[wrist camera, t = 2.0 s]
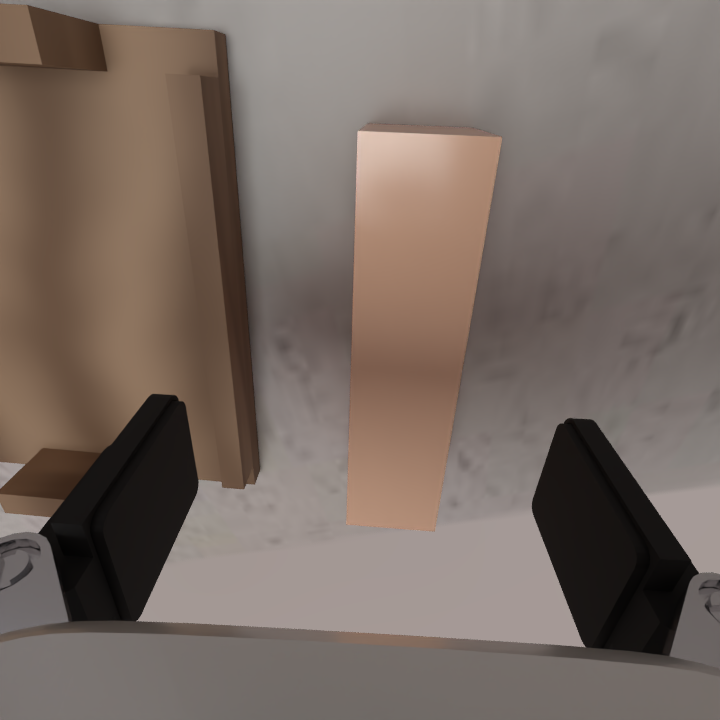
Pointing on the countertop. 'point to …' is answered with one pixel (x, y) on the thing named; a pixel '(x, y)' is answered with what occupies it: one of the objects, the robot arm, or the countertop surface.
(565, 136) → the countertop surface
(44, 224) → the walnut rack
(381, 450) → the clay block
